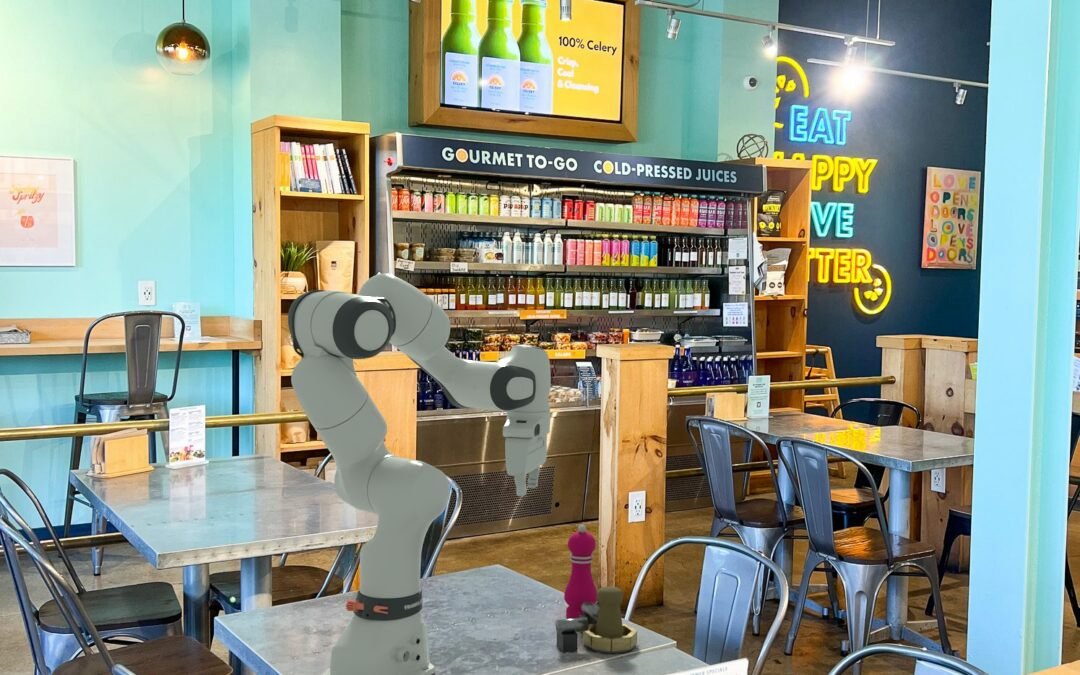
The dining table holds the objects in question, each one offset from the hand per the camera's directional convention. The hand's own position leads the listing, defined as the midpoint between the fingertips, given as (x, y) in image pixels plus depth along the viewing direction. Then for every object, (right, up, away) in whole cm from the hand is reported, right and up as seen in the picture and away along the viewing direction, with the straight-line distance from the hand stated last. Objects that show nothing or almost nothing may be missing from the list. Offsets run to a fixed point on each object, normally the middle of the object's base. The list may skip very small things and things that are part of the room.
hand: (527, 491), depth 215 cm
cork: (+16, -29, -8) cm, 34 cm away
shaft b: (+14, -29, 0) cm, 32 cm away
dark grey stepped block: (+9, -29, -10) cm, 32 cm away
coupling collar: (+17, -29, -7) cm, 34 cm away
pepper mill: (+11, -29, +11) cm, 33 cm away
